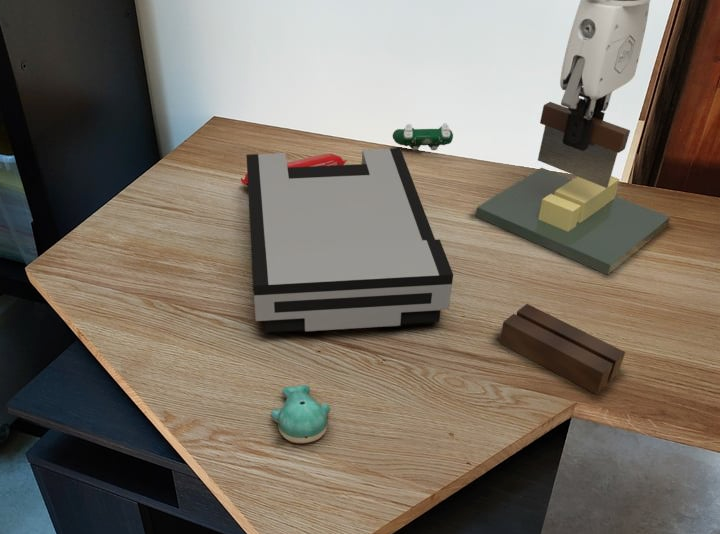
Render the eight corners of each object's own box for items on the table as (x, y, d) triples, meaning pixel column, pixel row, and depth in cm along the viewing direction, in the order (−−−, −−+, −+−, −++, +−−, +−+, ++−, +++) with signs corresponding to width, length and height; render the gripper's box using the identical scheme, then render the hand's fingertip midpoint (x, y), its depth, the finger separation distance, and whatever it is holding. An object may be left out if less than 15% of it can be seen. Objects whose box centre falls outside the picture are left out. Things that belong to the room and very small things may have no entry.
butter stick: (614, 199, 107) (619, 178, 105) (580, 223, 102) (585, 202, 100) (585, 187, 109) (590, 168, 107) (550, 211, 104) (554, 190, 102)
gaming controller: (392, 156, 123) (397, 143, 117) (391, 132, 123) (396, 118, 117) (450, 155, 123) (458, 142, 117) (449, 131, 123) (457, 117, 117)
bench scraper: (613, 187, 96) (630, 130, 91) (607, 191, 95) (624, 134, 90) (538, 156, 102) (550, 101, 96) (531, 160, 101) (543, 104, 96)
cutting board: (667, 226, 104) (670, 216, 103) (607, 275, 96) (610, 265, 95) (539, 176, 114) (541, 167, 113) (475, 216, 106) (476, 206, 105)
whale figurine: (274, 451, 73) (273, 423, 71) (267, 398, 79) (266, 370, 76) (335, 445, 74) (336, 416, 72) (325, 393, 79) (324, 365, 77)
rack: (618, 373, 82) (625, 351, 80) (596, 395, 80) (603, 373, 78) (522, 324, 88) (526, 303, 86) (498, 343, 86) (503, 321, 84)
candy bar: (349, 155, 112) (349, 175, 114) (338, 145, 115) (337, 164, 117) (247, 179, 107) (248, 199, 109) (236, 168, 109) (238, 187, 111)
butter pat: (576, 226, 101) (581, 205, 99) (567, 232, 100) (572, 211, 98) (546, 213, 103) (550, 193, 101) (538, 219, 102) (542, 199, 100)
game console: (397, 194, 110) (401, 139, 104) (445, 336, 86) (453, 274, 81) (249, 201, 108) (245, 145, 103) (257, 347, 85) (253, 285, 79)
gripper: (613, 5, 77) (572, 175, 90) (684, -26, 86) (637, 133, 98) (548, -12, 81) (517, 154, 93) (622, -40, 89) (585, 116, 102)
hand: (579, 142), depth 96 cm, fingers closed on bench scraper, 1 cm apart
